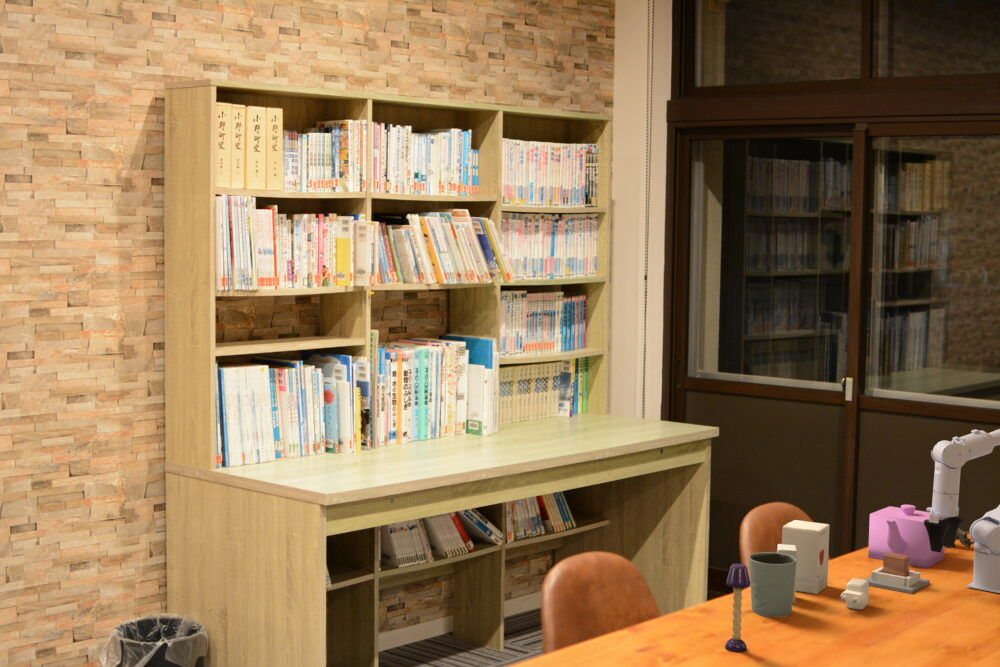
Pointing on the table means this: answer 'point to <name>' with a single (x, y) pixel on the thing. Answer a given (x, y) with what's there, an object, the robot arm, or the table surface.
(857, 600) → the power adapter
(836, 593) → the table surface
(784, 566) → the grey-green tapered cup
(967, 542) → the rhino figurine
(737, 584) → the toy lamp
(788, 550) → the skincare box
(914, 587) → the grey framed tray
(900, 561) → the block
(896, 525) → the pink knobbed box
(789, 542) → the supplement box
